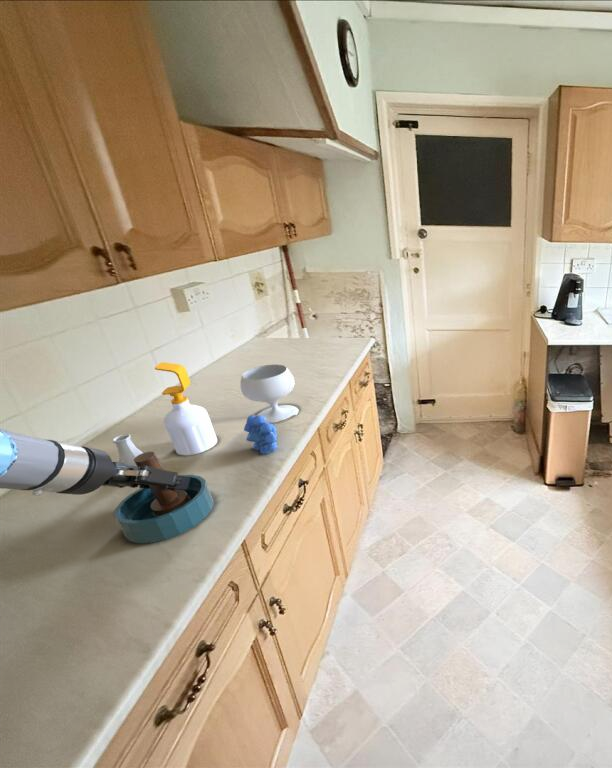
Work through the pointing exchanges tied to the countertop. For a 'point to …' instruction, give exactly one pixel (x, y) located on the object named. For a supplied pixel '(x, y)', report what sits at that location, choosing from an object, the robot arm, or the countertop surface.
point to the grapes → (261, 434)
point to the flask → (126, 449)
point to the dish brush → (164, 498)
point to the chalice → (269, 390)
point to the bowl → (148, 529)
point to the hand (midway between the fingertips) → (177, 483)
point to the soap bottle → (186, 417)
